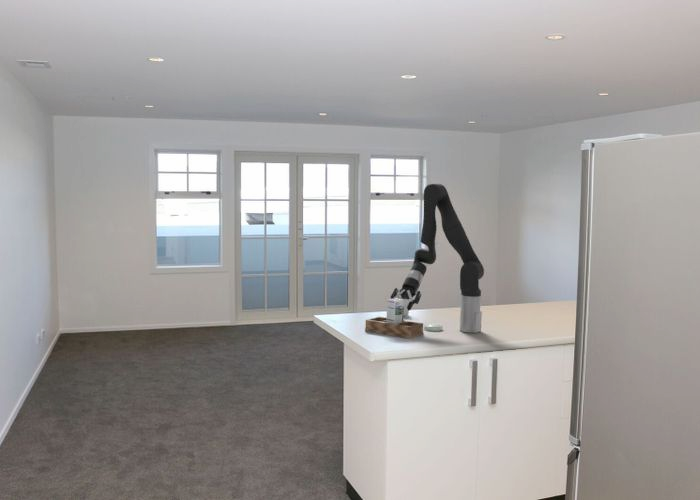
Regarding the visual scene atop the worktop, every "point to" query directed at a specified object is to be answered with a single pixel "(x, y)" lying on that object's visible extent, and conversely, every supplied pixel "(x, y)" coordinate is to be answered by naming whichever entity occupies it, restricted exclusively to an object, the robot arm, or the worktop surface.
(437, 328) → the dish
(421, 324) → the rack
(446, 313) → the worktop surface
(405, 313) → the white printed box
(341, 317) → the worktop surface
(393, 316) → the syrup box
